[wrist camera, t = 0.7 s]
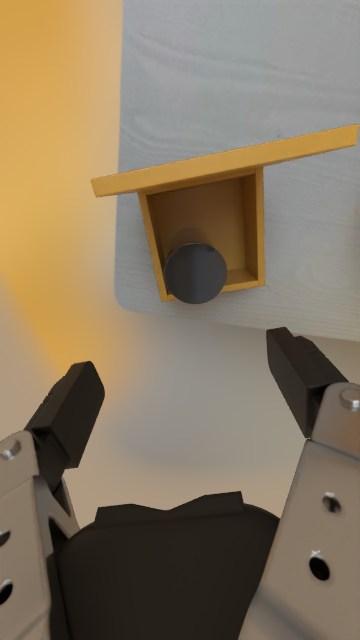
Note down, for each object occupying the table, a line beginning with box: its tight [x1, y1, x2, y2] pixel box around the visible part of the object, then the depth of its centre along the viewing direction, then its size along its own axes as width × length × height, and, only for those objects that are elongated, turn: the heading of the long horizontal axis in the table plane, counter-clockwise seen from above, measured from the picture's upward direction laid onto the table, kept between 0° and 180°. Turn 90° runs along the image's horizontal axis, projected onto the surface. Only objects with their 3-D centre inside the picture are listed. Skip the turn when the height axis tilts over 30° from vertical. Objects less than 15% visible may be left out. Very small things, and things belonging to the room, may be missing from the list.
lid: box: [91, 124, 359, 197], centre depth 17 cm, size 14×13×1 cm
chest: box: [137, 167, 265, 302], centre depth 29 cm, size 13×13×7 cm
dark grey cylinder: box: [164, 227, 227, 304], centre depth 27 cm, size 6×6×12 cm
